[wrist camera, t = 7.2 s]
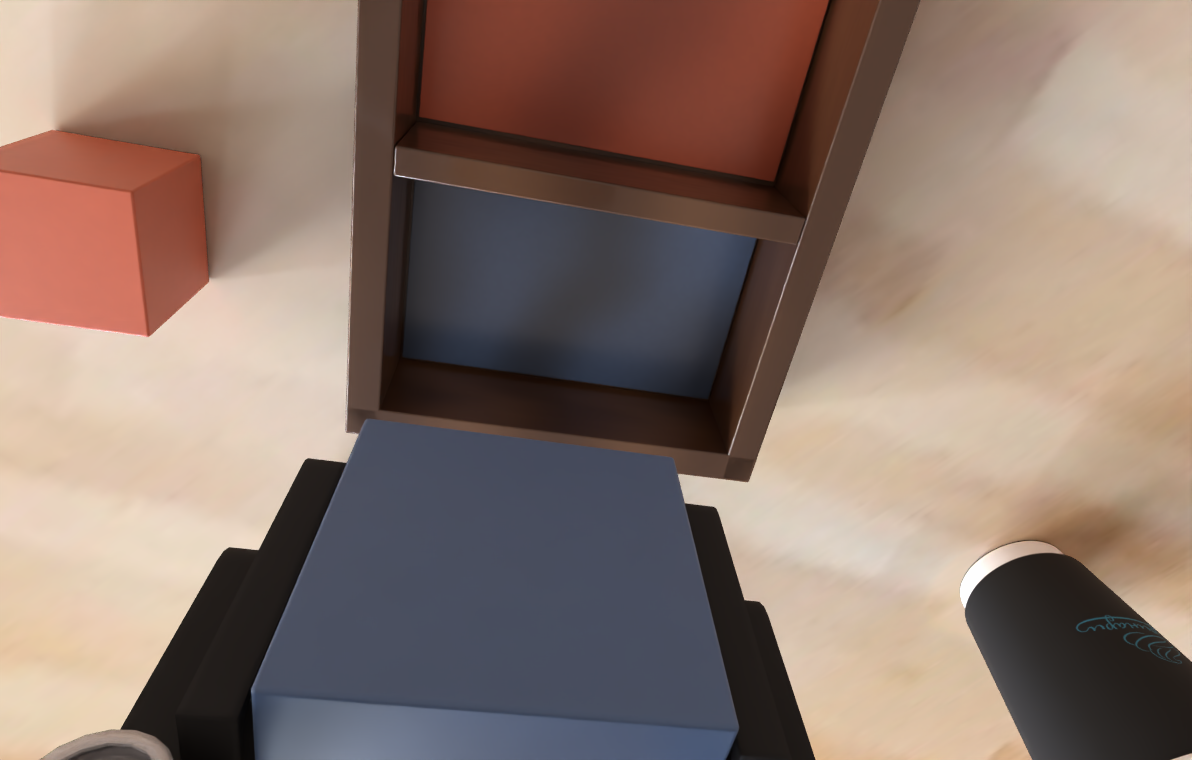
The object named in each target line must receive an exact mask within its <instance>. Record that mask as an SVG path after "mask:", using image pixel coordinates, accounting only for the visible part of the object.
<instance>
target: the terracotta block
mask: <svg viewBox="0 0 1192 760" xmlns="http://www.w3.org/2000/svg"><path fill="white" fill-rule="evenodd" d="M208 282H209V275H208V261H207V246H206V232H205V217H204V203H203V188H202V174H201V159H200V155H197V154H191V153H185V152H179V151H173V150H168V149H162V148H156V147H150V146H144V145H138V144H132V143H126V142H120V141H114V140H109V139H103V138H97V137H91V136H85V135H79V134H73V133H67V132H61V131H55V130H51V131H48V132H44V133H41V134H38V135H35V136H32V137H29V138H26V139H23V140H20V141H17V142H14V143H11V144H8V145H4V146H1V147H0V317H5V318H12V319H19V320H27V321H34V322H42V323H49V324H56V325H64V326H71V327H78V328H86V329H93V330H100V331H108V332H115V333H122V334H130V335H137V336H144V337H149V336H151V335H152V334H153V333H154V332H155V331H156V330H157V329H158V328H159V327H160V326H161V325H163V324H164V323H165V322H166V321H167V320H168V319H169V318H170V317H171V316H172V315H173V314H175V313H176V312H177V311H178V310H179V309H180V308H181V307H182V306H183V305H184V304H185V303H186V302H188V301H189V300H190V299H191V298H192V297H193V296H194V295H195V294H196V293H197V292H198V291H200V290H201V289H202V288H203V287H204V286H205V285H206V284H207V283H208Z"/></svg>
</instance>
